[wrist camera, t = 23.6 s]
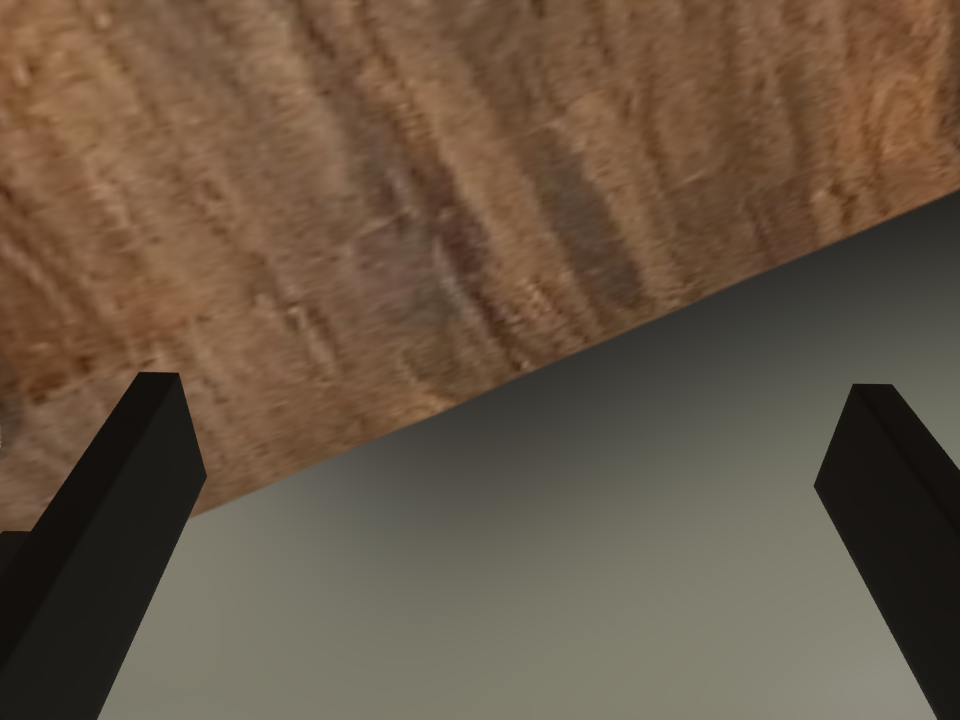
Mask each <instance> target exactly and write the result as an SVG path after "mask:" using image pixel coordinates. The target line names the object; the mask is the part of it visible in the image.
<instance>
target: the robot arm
mask: <svg viewBox="0 0 960 720" xmlns="http://www.w3.org/2000/svg"><path fill="white" fill-rule="evenodd" d="M206 477H207V475H206V472H205V468H204V464H203V461H202V457H201V453H200V450H199V446H198V442H197V438H196V435H195V431H194V427H193V424H192V420H191V416H190V413H189V409H188V405H187V402H186V398H185V394H184V390H183V387H182V383H181V379H180V376H179V373H166V372H139V373H138V374H137V376H136V377H135V379H134V380H133V382H132V383H131V385H130V386H129V388H128V389H127V391H126V392H125V394H124V395H123V397H122V398H121V399H120V401H119V402H118V404H117V405H116V407H115V408H114V410H113V411H112V413H111V414H110V416H109V417H108V419H107V420H106V422H105V423H104V425H103V426H102V427H101V429H100V430H99V432H98V433H97V435H96V436H95V438H94V439H93V441H92V442H91V444H90V445H89V447H88V448H87V450H86V451H85V452H84V454H83V455H82V457H81V458H80V460H79V461H78V463H77V464H76V466H75V467H74V469H73V470H72V472H71V473H70V475H69V476H68V478H67V479H66V480H65V482H64V483H63V485H62V486H61V488H60V489H59V491H58V492H57V494H56V495H55V497H54V498H53V500H52V501H51V503H50V504H49V505H48V507H47V508H46V510H45V511H44V513H43V514H42V516H41V517H40V519H39V520H38V522H37V523H36V525H35V526H34V528H33V529H32V531H31V532H30V531H3V532H2V533H1V534H0V720H97V718H98V716H99V714H100V712H101V710H102V707H103V705H104V703H105V701H106V699H107V696H108V694H109V692H110V690H111V687H112V685H113V683H114V681H115V679H116V676H117V674H118V672H119V670H120V668H121V665H122V663H123V661H124V659H125V657H126V654H127V652H128V650H129V647H130V645H131V643H132V641H133V639H134V637H135V634H136V632H137V630H138V628H139V626H140V623H141V621H142V619H143V617H144V615H145V612H146V610H147V608H148V606H149V603H150V601H151V599H152V597H153V595H154V592H155V590H156V588H157V586H158V584H159V581H160V579H161V577H162V575H163V573H164V570H165V568H166V566H167V564H168V561H169V559H170V557H171V555H172V553H173V550H174V548H175V546H176V544H177V542H178V539H179V537H180V535H181V533H182V530H183V528H184V526H185V524H186V522H187V519H188V517H189V515H190V513H191V511H192V508H193V506H194V504H195V502H196V500H197V497H198V495H199V493H200V491H201V489H202V486H203V484H204V482H205V480H206ZM814 488H815V490H816V492H817V494H818V495H819V497H820V499H821V501H822V503H823V505H824V507H825V509H826V510H827V512H828V514H829V516H830V518H831V520H832V522H833V524H834V525H835V527H836V529H837V531H838V533H839V535H840V537H841V539H842V541H843V542H844V544H845V546H846V548H847V550H848V552H849V554H850V556H851V558H852V559H853V561H854V563H855V565H856V567H857V569H858V571H859V573H860V575H861V576H862V578H863V580H864V582H865V584H866V586H867V588H868V589H869V591H870V593H871V595H872V597H873V599H874V601H875V603H876V604H877V607H878V609H879V610H880V612H881V614H882V616H883V618H884V620H885V622H886V624H887V625H888V627H889V629H890V631H891V633H892V635H893V637H894V638H895V641H896V642H897V644H898V646H899V648H900V650H901V652H902V654H903V655H904V658H905V659H906V661H907V663H908V665H909V667H910V669H911V671H912V673H913V674H914V676H915V678H916V680H917V682H918V684H919V686H920V688H921V689H922V691H923V693H924V695H925V697H926V699H927V701H928V703H929V705H930V706H931V708H932V710H933V712H934V714H935V716H936V718H937V720H960V470H959V469H958V468H957V466H956V465H955V464H954V463H953V461H952V460H951V459H950V457H949V456H948V455H947V453H946V452H945V451H944V450H943V449H942V447H941V446H940V445H939V443H938V442H937V441H936V440H935V438H934V437H933V436H932V434H931V433H930V432H929V431H928V429H927V428H926V427H925V425H924V424H923V423H922V422H921V421H920V419H919V418H918V417H917V415H916V414H915V413H914V411H913V410H912V409H911V408H910V406H909V405H908V404H907V403H906V401H905V400H904V399H903V397H902V396H901V395H900V394H899V393H898V391H897V390H896V389H895V388H894V386H893V385H892V384H853V385H852V388H851V390H850V393H849V395H848V398H847V401H846V403H845V406H844V408H843V411H842V414H841V416H840V419H839V421H838V424H837V427H836V429H835V432H834V435H833V437H832V440H831V442H830V445H829V447H828V450H827V453H826V455H825V458H824V460H823V463H822V465H821V468H820V471H819V473H818V476H817V479H816V481H815V484H814Z"/></svg>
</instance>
